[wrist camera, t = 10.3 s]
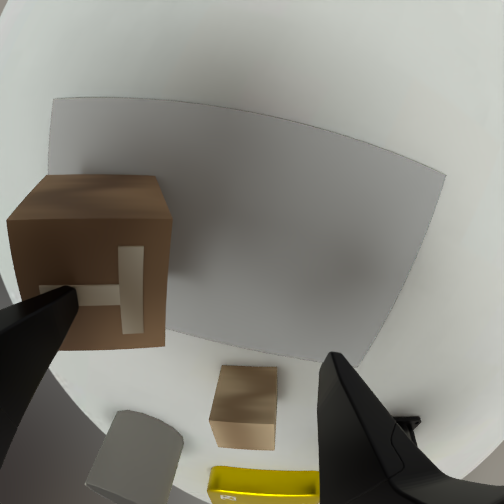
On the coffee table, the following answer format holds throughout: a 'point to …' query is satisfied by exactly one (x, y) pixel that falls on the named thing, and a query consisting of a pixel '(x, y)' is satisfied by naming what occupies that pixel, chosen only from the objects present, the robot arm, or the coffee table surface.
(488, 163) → the coffee table surface
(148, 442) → the cup
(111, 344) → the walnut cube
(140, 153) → the rubber mat
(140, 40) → the coffee table surface
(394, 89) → the coffee table surface
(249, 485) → the element tile
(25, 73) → the coffee table surface
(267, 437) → the oak block
